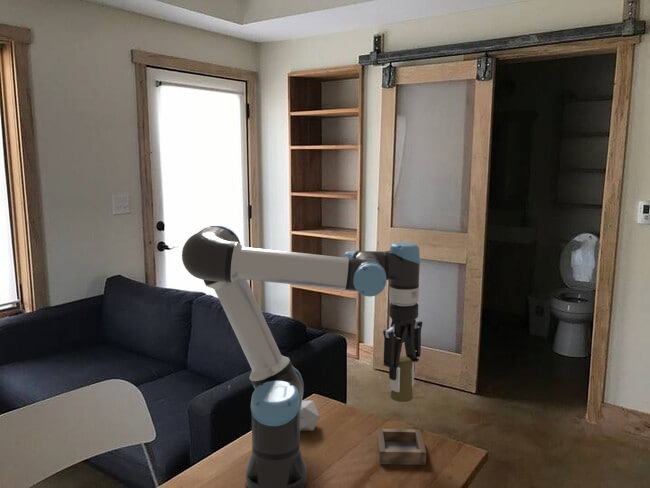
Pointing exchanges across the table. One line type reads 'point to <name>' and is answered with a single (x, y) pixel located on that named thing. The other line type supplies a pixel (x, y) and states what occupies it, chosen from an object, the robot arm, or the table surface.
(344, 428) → the table surface
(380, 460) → the wooden tray
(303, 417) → the die
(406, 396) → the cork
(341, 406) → the table surface
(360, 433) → the table surface
